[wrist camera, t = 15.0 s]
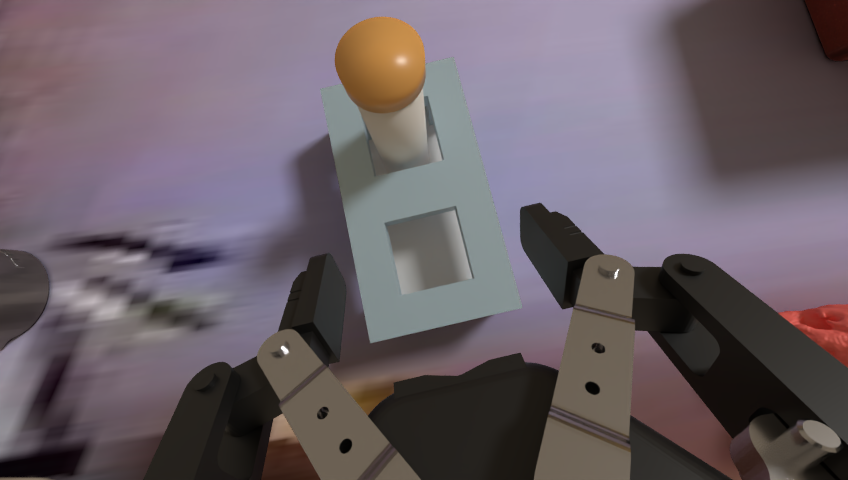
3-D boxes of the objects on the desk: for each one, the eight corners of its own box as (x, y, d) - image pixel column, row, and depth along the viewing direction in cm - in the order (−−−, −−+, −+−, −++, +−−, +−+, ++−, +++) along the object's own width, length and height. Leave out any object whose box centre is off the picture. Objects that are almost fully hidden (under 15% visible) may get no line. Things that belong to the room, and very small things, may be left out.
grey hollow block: (505, 302, 29) (522, 307, 23) (383, 331, 29) (370, 343, 23) (450, 98, 32) (453, 56, 27) (341, 124, 33) (320, 89, 27)
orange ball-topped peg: (417, 193, 30) (397, 111, 16) (373, 171, 31) (318, 75, 17) (440, 150, 31) (440, 36, 17) (396, 130, 31) (362, 4, 17)
